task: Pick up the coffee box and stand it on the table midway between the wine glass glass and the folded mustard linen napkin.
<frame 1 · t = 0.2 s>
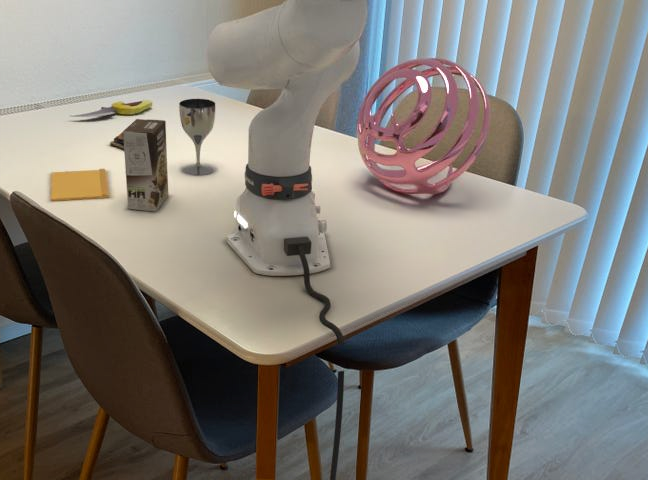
coffee box: (148, 203, 161), on the table
open sandwich: (134, 144, 193), on the table
spiral basket: (407, 188, 170), on the table
wine glass: (198, 170, 178), on the table
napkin: (79, 185, 168), on the table
knife: (113, 115, 213), on the table
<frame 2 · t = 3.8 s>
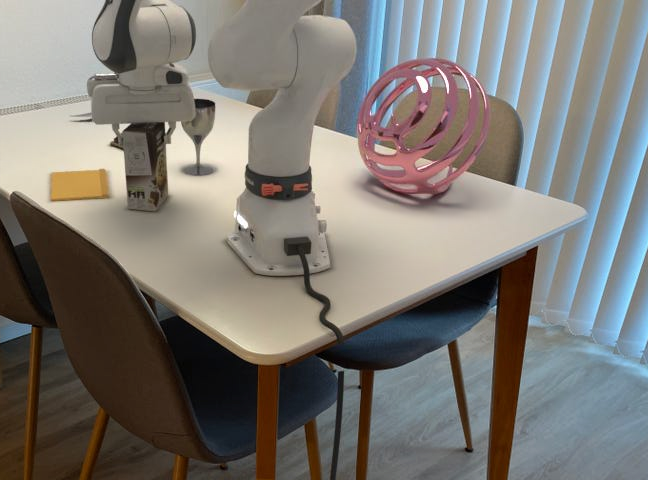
hand: (145, 144, 154), 12 cm above the table, tool pointing down, fingers closed on coffee box, 7 cm apart
coffee box: (148, 203, 161), on the table, touching gripper
everything else where it was.
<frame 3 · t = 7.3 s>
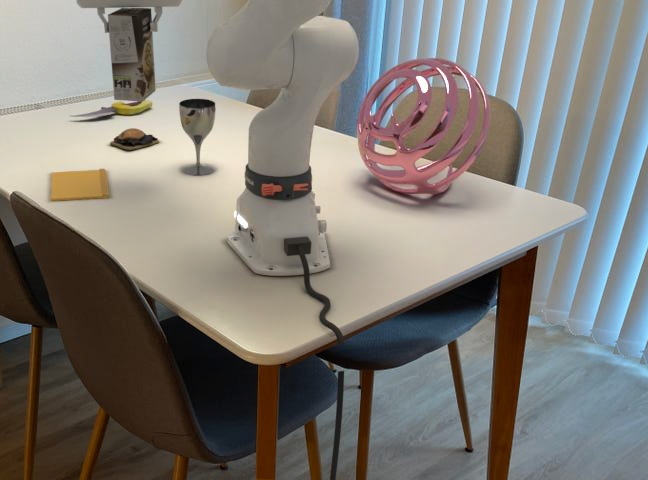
hand: (131, 31, 152), 31 cm above the table, tool pointing down, fingers closed on coffee box, 7 cm apart
coffee box: (135, 96, 159), point 19 cm above the table, touching gripper
everything else where it was.
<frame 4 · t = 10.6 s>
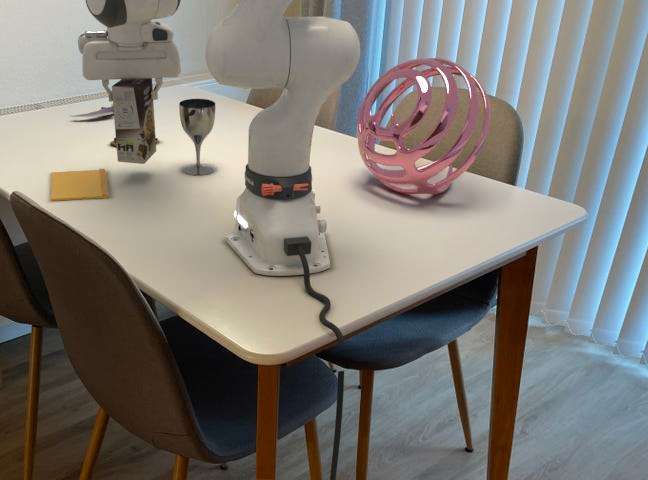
hand: (133, 99, 163), 17 cm above the table, tool pointing down, fingers closed on coffee box, 7 cm apart
coffee box: (137, 157, 170), point 5 cm above the table, touching gripper
everything else where it was.
when the fingers open (12 cm above the table, at t = 12.5 s): coffee box stays where it is, on the table.
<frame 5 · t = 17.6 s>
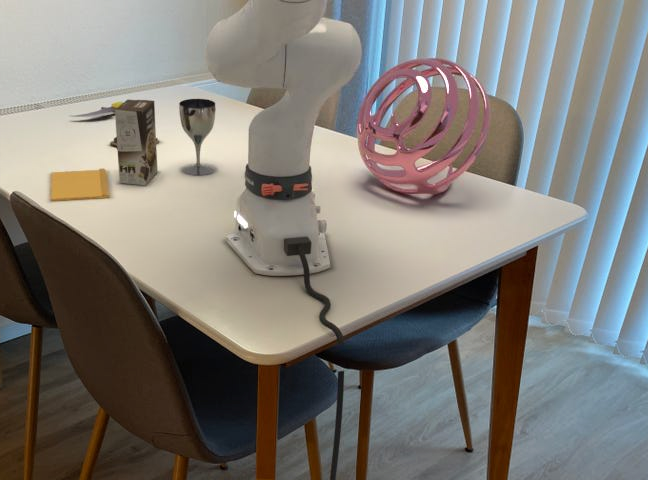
coffee box: (139, 178, 173), on the table
everything else where it was.
at the end: coffee box inside the target area (0.2 cm from its centre), on the table; coffee box tilted 0°; wine glass moved 0.2 cm from its start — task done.
